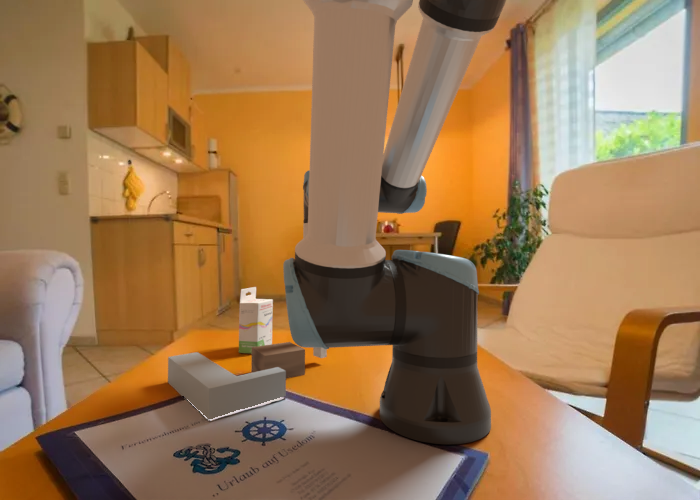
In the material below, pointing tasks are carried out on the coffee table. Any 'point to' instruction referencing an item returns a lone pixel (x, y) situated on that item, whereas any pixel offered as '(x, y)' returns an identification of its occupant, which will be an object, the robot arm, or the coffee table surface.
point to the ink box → (254, 321)
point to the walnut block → (279, 358)
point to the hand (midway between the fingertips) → (319, 356)
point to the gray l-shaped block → (222, 385)
